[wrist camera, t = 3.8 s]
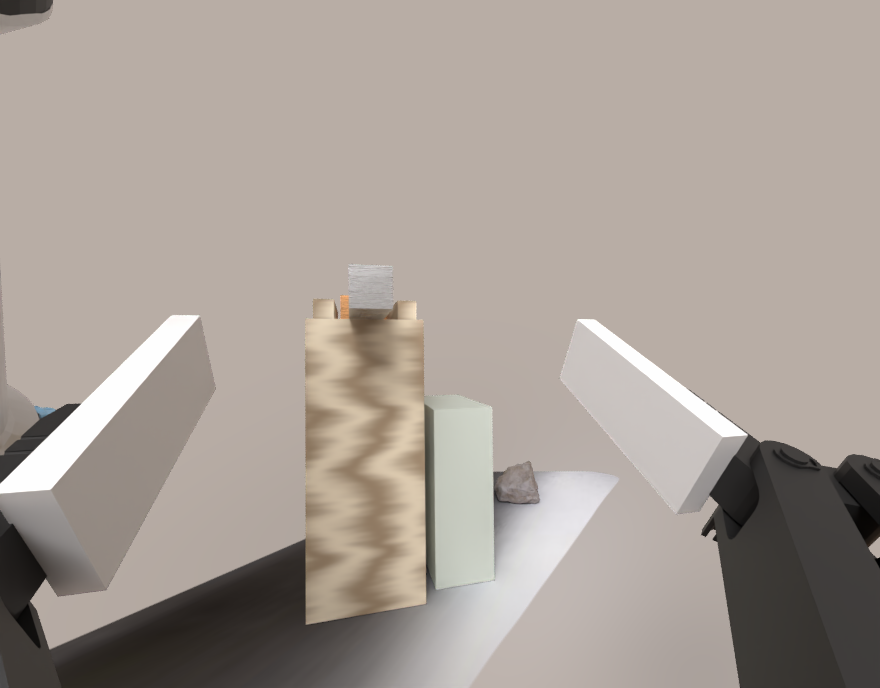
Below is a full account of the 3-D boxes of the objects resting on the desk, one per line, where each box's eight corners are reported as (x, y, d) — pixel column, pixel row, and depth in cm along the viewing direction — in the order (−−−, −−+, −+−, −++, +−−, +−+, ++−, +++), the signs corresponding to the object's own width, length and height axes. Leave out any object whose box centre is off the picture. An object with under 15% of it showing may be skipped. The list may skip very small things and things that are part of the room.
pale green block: (435, 589, 41) (433, 409, 42) (414, 531, 55) (413, 396, 56) (494, 580, 43) (492, 407, 44) (459, 526, 57) (458, 394, 57)
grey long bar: (335, 308, 29) (335, 263, 29) (341, 327, 50) (341, 302, 51) (405, 309, 30) (405, 266, 30) (382, 328, 52) (382, 303, 52)
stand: (305, 624, 36) (305, 298, 37) (316, 559, 48) (316, 312, 49) (426, 603, 39) (423, 301, 40) (408, 546, 51) (406, 313, 52)
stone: (505, 485, 74) (504, 456, 74) (546, 491, 71) (546, 460, 71) (490, 503, 65) (489, 470, 66) (536, 511, 62) (536, 476, 62)
